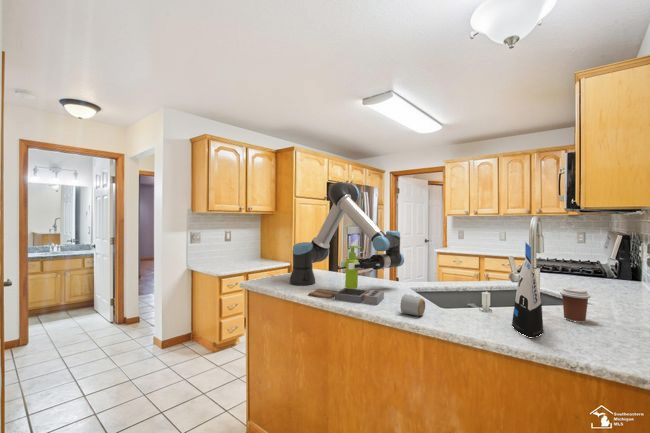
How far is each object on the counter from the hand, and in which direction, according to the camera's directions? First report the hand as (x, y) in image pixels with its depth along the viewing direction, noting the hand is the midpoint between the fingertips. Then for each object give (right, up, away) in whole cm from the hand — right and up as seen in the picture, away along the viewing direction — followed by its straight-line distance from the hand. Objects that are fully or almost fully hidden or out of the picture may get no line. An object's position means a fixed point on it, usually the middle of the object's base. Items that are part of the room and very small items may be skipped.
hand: (344, 265), depth 144 cm
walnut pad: (-9, -16, +9) cm, 21 cm away
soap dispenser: (+4, -11, +3) cm, 12 cm away
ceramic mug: (+27, -17, -19) cm, 37 cm away
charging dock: (+8, -16, +1) cm, 18 cm away
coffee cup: (+88, -17, -26) cm, 93 cm away
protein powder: (+64, -17, -35) cm, 74 cm away
